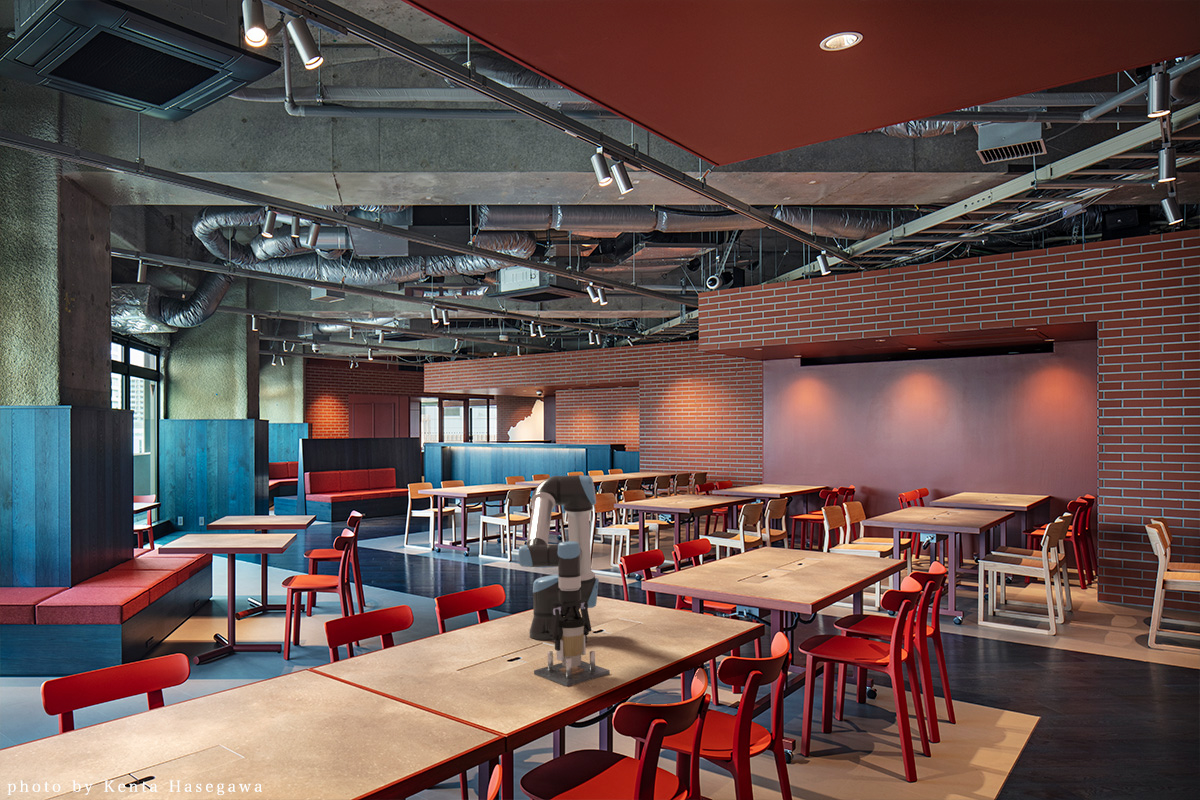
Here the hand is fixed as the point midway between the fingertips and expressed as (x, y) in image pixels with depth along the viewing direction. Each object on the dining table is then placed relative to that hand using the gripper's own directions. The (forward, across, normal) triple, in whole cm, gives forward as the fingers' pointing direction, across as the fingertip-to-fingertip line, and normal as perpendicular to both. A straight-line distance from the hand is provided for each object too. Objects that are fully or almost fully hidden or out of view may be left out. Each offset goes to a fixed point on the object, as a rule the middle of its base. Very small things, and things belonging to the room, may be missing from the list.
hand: (571, 657), depth 243 cm
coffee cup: (+3, 0, 0) cm, 3 cm away
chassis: (+5, 0, 0) cm, 5 cm away
